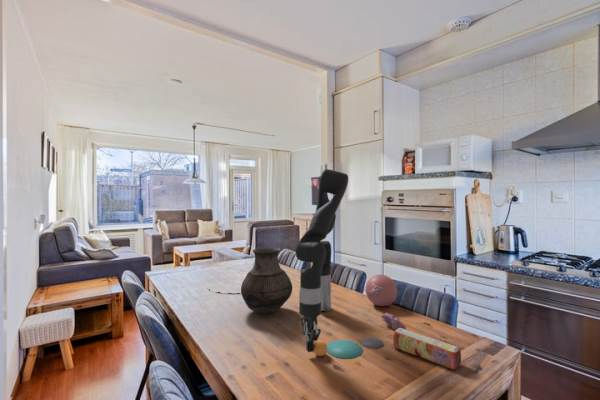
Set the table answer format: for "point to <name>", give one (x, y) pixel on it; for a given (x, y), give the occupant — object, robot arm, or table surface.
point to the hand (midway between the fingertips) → (309, 350)
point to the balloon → (381, 290)
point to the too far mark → (372, 343)
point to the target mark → (344, 349)
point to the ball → (320, 348)
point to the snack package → (427, 348)
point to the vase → (266, 283)
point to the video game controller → (392, 321)
